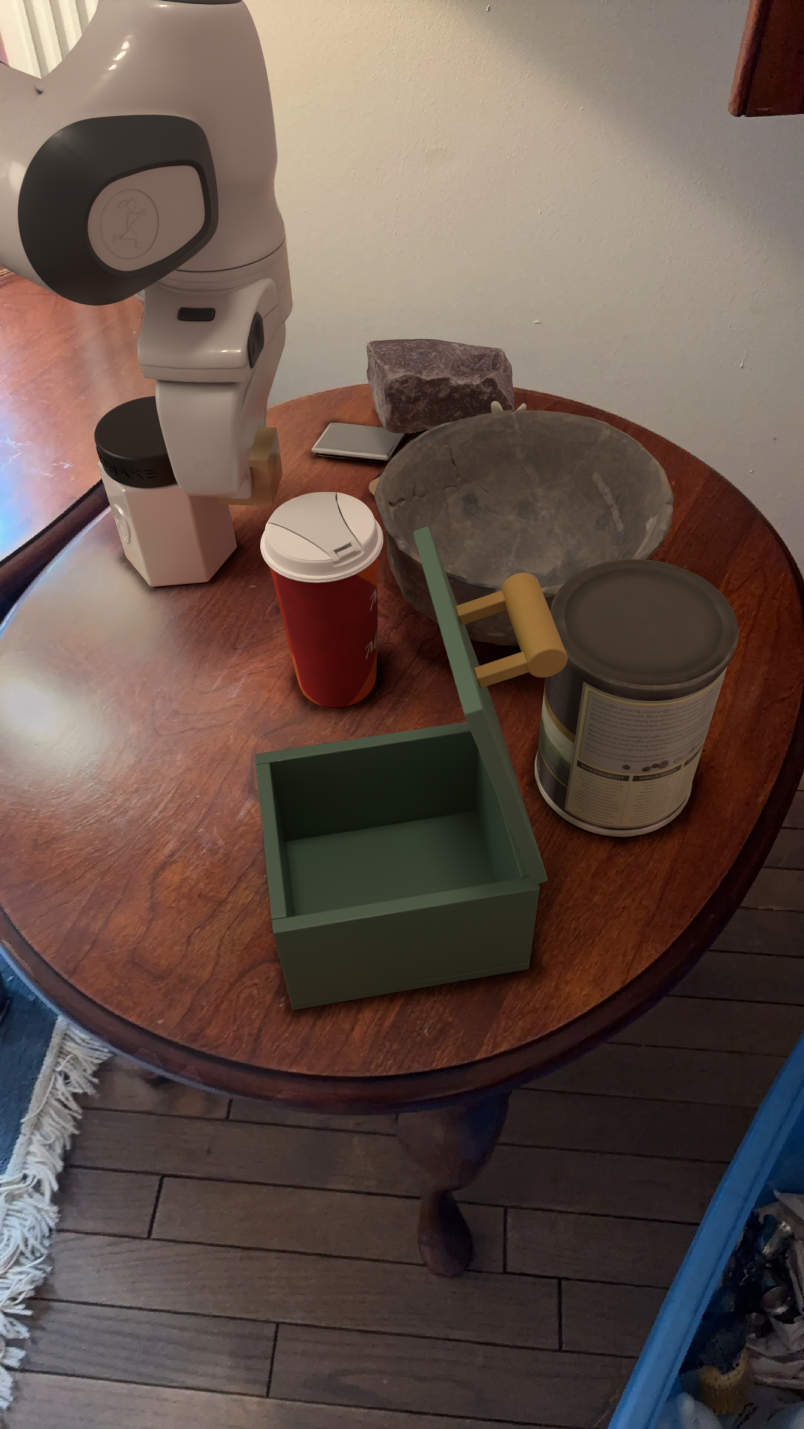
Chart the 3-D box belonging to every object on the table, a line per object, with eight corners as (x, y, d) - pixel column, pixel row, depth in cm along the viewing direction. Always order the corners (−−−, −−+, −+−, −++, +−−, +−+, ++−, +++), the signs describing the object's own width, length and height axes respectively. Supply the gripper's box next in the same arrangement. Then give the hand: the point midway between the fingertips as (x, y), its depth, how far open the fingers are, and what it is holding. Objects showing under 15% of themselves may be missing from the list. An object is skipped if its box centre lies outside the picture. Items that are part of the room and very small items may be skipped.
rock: (527, 377, 97) (535, 256, 83) (505, 510, 92) (511, 405, 78) (381, 363, 99) (366, 241, 85) (353, 493, 94) (332, 386, 80)
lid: (464, 714, 41) (580, 676, 40) (412, 530, 49) (510, 496, 48) (533, 886, 52) (625, 857, 52) (482, 714, 60) (562, 688, 59)
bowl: (539, 480, 88) (548, 374, 81) (711, 617, 77) (741, 510, 69) (330, 573, 81) (318, 468, 74) (486, 741, 70) (491, 636, 62)
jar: (111, 545, 85) (71, 417, 76) (199, 506, 88) (171, 379, 79) (161, 605, 80) (125, 476, 71) (253, 562, 83) (229, 433, 74)
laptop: (388, 446, 88) (389, 467, 90) (407, 415, 92) (408, 436, 94) (309, 438, 90) (312, 458, 92) (331, 408, 94) (333, 428, 95)
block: (274, 506, 75) (267, 460, 72) (219, 504, 75) (210, 458, 72) (282, 473, 77) (277, 427, 74) (230, 471, 77) (222, 425, 74)
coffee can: (501, 775, 68) (511, 621, 57) (599, 691, 73) (626, 534, 62) (627, 868, 63) (664, 719, 52) (724, 772, 68) (776, 616, 57)
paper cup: (412, 687, 73) (406, 532, 63) (319, 736, 71) (297, 583, 60) (352, 625, 78) (338, 470, 67) (263, 668, 75) (234, 514, 64)
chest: (292, 1011, 58) (272, 933, 51) (273, 840, 65) (254, 753, 59) (529, 969, 59) (540, 888, 52) (484, 806, 67) (488, 717, 60)
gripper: (205, 211, 71) (233, 390, 82) (128, 369, 58) (173, 559, 68) (295, 213, 71) (312, 393, 81) (238, 372, 58) (267, 563, 68)
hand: (248, 470), depth 75 cm, fingers closed on block, 4 cm apart
